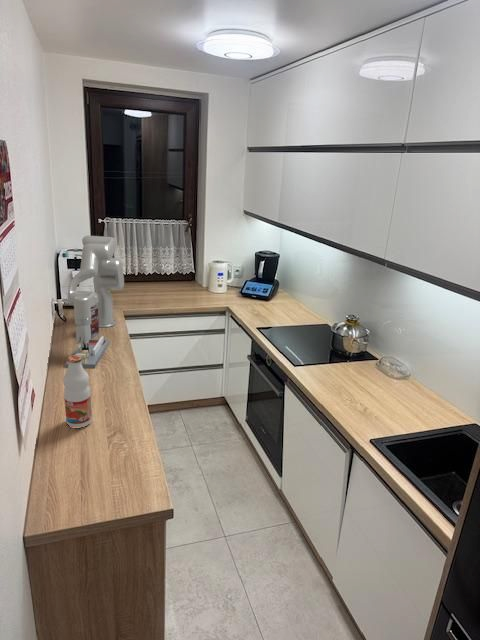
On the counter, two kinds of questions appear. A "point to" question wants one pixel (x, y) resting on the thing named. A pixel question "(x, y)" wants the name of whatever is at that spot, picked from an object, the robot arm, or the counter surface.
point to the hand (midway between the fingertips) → (85, 354)
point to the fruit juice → (77, 394)
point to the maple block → (83, 355)
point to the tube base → (93, 351)
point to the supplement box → (94, 322)
